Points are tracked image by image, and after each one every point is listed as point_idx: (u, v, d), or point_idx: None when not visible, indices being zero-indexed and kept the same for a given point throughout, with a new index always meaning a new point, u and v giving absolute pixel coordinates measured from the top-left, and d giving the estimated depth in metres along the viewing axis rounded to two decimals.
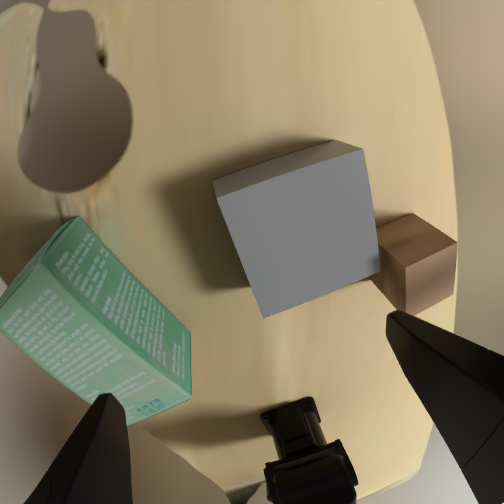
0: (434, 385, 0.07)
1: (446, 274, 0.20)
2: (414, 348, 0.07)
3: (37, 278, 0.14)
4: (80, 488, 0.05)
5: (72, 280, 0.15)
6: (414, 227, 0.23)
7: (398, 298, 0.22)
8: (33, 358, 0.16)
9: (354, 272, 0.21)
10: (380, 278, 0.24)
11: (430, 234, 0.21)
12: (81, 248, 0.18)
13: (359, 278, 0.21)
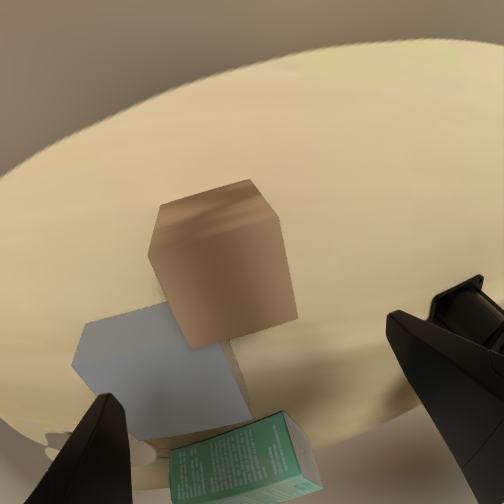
0: (434, 385, 0.07)
1: (219, 260, 0.12)
2: (414, 348, 0.07)
3: None
4: (80, 488, 0.05)
5: (189, 496, 0.22)
6: None
7: None
8: None
9: (211, 362, 0.17)
10: None
11: None
12: (182, 470, 0.25)
13: (221, 355, 0.17)
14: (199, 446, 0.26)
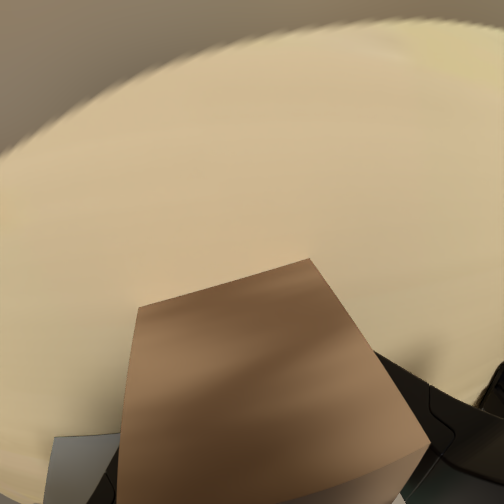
0: None
1: None
2: None
3: None
4: None
5: None
6: None
7: None
8: None
9: None
10: None
11: None
12: None
13: None
14: None
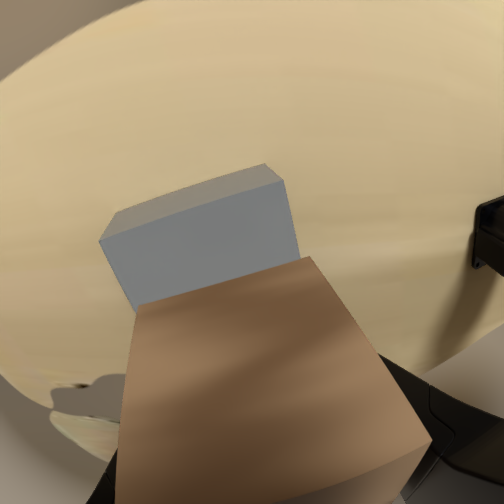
0: None
1: None
2: None
3: None
4: None
5: None
6: None
7: None
8: None
9: (275, 225, 0.15)
10: None
11: None
12: None
13: (288, 215, 0.15)
14: None
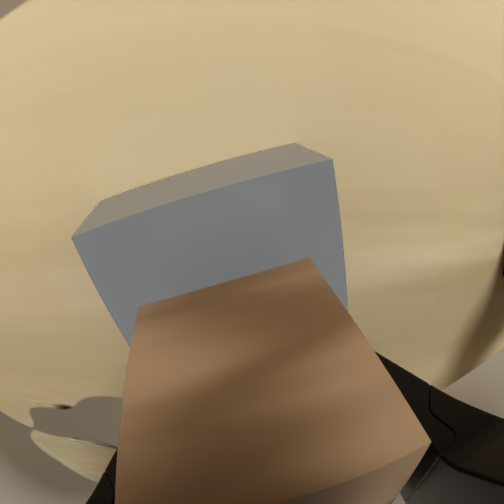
0: None
1: None
2: None
3: None
4: None
5: None
6: None
7: None
8: None
9: (318, 221, 0.11)
10: None
11: None
12: None
13: (334, 208, 0.11)
14: None
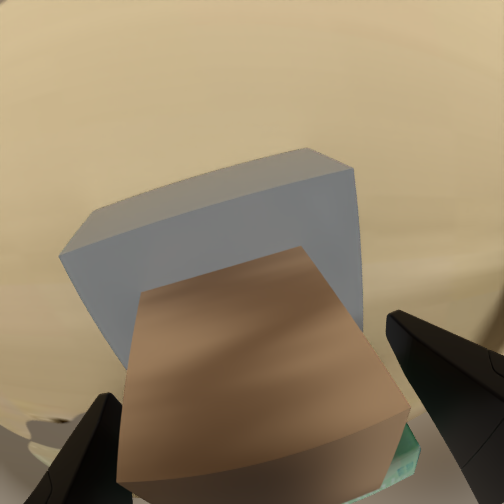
0: (434, 385, 0.07)
1: (272, 482, 0.04)
2: (414, 348, 0.07)
3: None
4: (80, 488, 0.05)
5: None
6: None
7: None
8: None
9: (335, 238, 0.09)
10: None
11: None
12: None
13: (354, 223, 0.09)
14: None
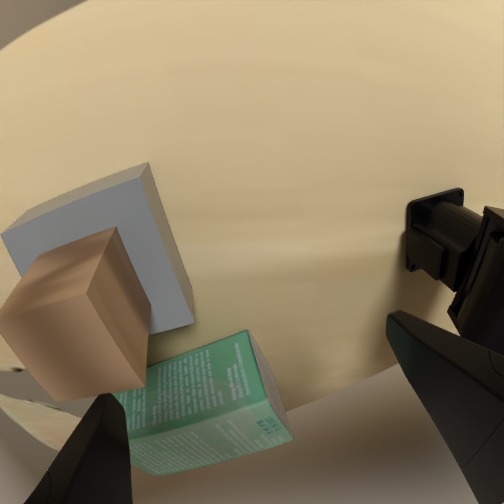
0: (434, 385, 0.07)
1: (46, 331, 0.10)
2: (414, 348, 0.07)
3: None
4: (80, 488, 0.05)
5: None
6: None
7: None
8: (191, 468, 0.21)
9: (137, 220, 0.15)
10: None
11: None
12: (121, 399, 0.22)
13: (147, 211, 0.15)
14: None
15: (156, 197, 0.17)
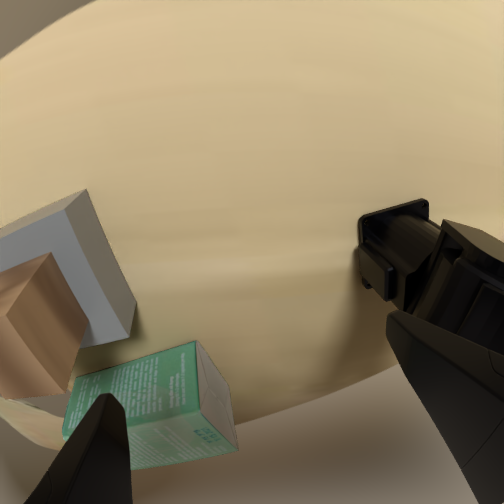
0: (434, 385, 0.07)
1: None
2: (414, 348, 0.07)
3: None
4: (80, 488, 0.05)
5: None
6: None
7: None
8: (143, 467, 0.22)
9: (67, 247, 0.15)
10: None
11: None
12: (80, 397, 0.22)
13: (74, 238, 0.15)
14: (103, 373, 0.24)
15: (91, 222, 0.18)
